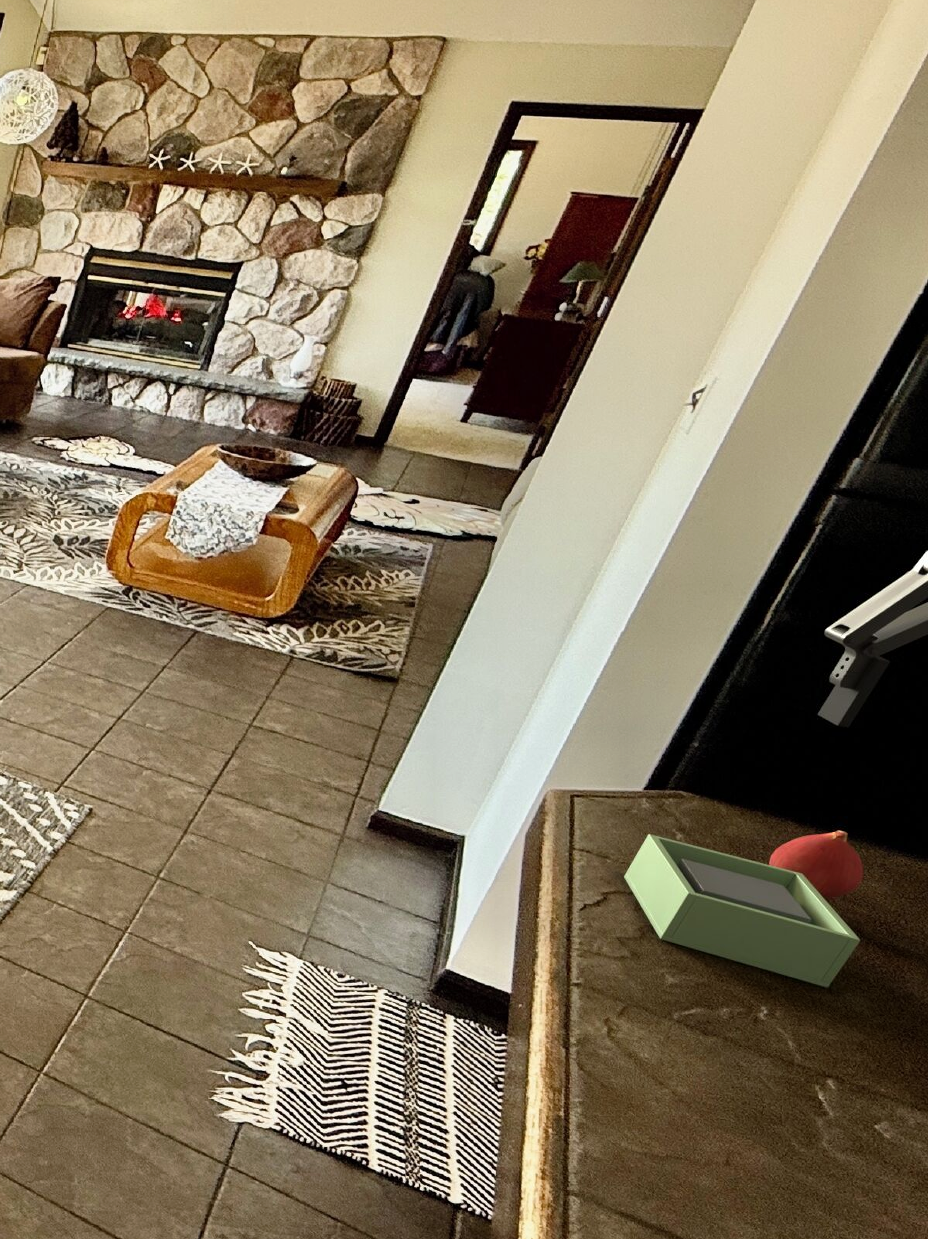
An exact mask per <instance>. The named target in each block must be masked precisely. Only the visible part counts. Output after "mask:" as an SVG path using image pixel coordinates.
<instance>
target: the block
mask: <svg viewBox="0 0 928 1239" xmlns="http://www.w3.org/2000/svg"><path fill="white" fill-rule="evenodd" d="M677 867H678V868H679V870H680V871H681V873H682V874H683V876H684V877H685V878H686V880H687V881H688V883H689V884H690V886H691V887H692V889H693V890H694V892H695V893H698V894H702V895H705V896H709V897H713V898H716V899H720V900H724V901H727V902H731V903H735V904H738V905H742V906H746V907H749V908H753V909H757V910H760V911H764V912H767V913H771V914H775V915H778V916H782V917H786V918H789V919H793V920H797V921H800V922H804V923H808V924H809V923H810V922H811V918H810V917H809V916H808V915H807V914H806V912H805V911H804V910H803V909H802V908H801V906H800V905H799V904H798V903H797V901H796V900H795V899H794V898H793V897H792V895H791V894H790V893H789V892H788V891H787V889H786V888H785V887H784V886H783V885H780V884H776V883H773V882H769V881H765V880H761V879H757V878H754V877H750V876H746V875H742V874H739V873H735V872H731V871H727V870H723V869H720V868H716V867H712V866H708V865H704V864H701V863H697V862H693V861H689V860H686V859H681V860H680V862H679V864H678V865H677Z"/></svg>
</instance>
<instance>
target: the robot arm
mask: <svg viewBox="0 0 928 1239" xmlns="http://www.w3.org/2000/svg"><path fill="white" fill-rule="evenodd" d="M927 599H928V550H926V551H925V553H924V554H923V555H922V556H921V558H920V559H919V560H918V561H917V563H916V564H915V565H914V566H913V568H912V569H911V570H910V571H907V572H906V573H905V574H904V575H902V576H900V577H899V578H897V579H896V580H895V581H893V582H892V583H891V584H889V585H887V586H886V587H885V588H883V589H881V591H879V592H877V593H876V594H874V595H873V596H872V597H870V598H869V599H867V600H866V601H864V602H862V603H861V604H860V605H858V606H857V607H856V608H854V609H853V610H851V611H850V612H848V613H847V614H846V615H844V616H843V617H841V618H839V619H838V620H837V621H835V622H834V623H833V624H831V625H830V626H828V627H827V628H826V629H825V630H824V632H823V633H824V636H825V637H827V638H828V639H831V640H832V641H834V642H837V643H839V644H841V645H842V646H843V647H844V649H845V650H844V653H843V654H842V655H841V658H840V659H839V661H838V662H837V664H836V666H835V667H834V669H833V671H832V672H831V673H830V676H829V683H831V684H833V685H835V686H834V687H833V689H832V690H831V692H830V694H829V696H828V697H827V698H826V700H825V702H824V703H823V704H822V706H821V708H820V709H819V711H818V713H817V715H818V716H819V717H821V718H823V719H825V720H826V721H828V722H830V723H832V724H834V725H836V726H838V727H841V728H842V727H843V728H849V727H851V724H852V722H853V721H854V720H855V718H856V717H857V715H858V713H859V712H860V710H861V708H862V707H863V705H864V704H865V703H866V701H867V699H868V698H869V696H870V694H871V693H872V691H873V690H874V688H875V687H876V685H877V683H878V682H879V680H880V679H881V677H882V676H883V673H885V671H886V669H887V668H888V666H889V665H890V664H891V661H890V660H888V659H885V658H884V657H882V655H884V654H887V653H889V652H891V651H893V650H896V649H899V648H901V647H902V646H905V645H906V644H909V643H911V642H914V641H917V640H918V639H920V638H922V637H925V636H928V602H926V603H924V604H921V603H922V602H924V601H925V600H927ZM919 604H921V605H919ZM918 605H919V606H918ZM916 606H917V607H916Z"/></svg>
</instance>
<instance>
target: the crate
mask: <svg viewBox="0 0 928 1239" xmlns="http://www.w3.org/2000/svg"><path fill="white" fill-rule="evenodd" d="M681 859H686V860H689V861H693V862H697V863H701V864H704V865H708V866H712V867H716V868H720V869H723V870H727V871H731V872H735V873H739V874H742V875H746V876H750V877H754V878H757V879H761V880H765V881H769V882H773V883H776V884H780V885H783V886H784V887H785V888H786V889H787V891H788V892H789V893H790V894H791V895H792V897H793V898H794V899H795V900H796V901H797V903H798V904H799V905H800V906H801V908H802V909H803V910H804V911H805V912H806V914H807V915H808V916H809V917H810V918H811V922H810V923H809V924H808V923H804V922H800V921H797V920H793V919H789V918H786V917H782V916H778V915H775V914H771V913H767V912H764V911H760V910H757V909H753V908H749V907H746V906H742V905H738V904H735V903H731V902H727V901H724V900H720V899H716V898H713V897H709V896H705V895H702V894H698V893H695V892H694V890H693V889H692V887H691V886H690V884H689V883H688V881H687V880H686V878H685V877H684V876H683V874H682V873H681V871H680V870H679V868H678V867H677V865H678V864H679V862H680V860H681ZM623 878H624V880H625V881H626V884H628V887H629V888H630V890H631V891H632V893H633V895H634V896H635V898H636V900H637V902H638V903H639V905H640V907H641V909H642V911H643V912H644V913H645V915H646V917H647V919H648V921H649V922H650V924H651V926H652V927H653V930H654V931H655V932H656V934H657V936H658V938H659V939H660V940H661V941H665V942H669V943H672V944H676V945H679V946H683V947H686V948H690V949H694V950H695V951H701V952H704V953H707V954H709V955H713V956H717V957H720V958H724V959H728V960H730V961H734V962H737V963H741V964H745V965H748V966H751V967H755V968H758V969H762V970H765V971H769V972H771V973H775V974H779V975H782V976H786V977H788V978H789V977H790V978H792V979H797V980H800V981H803V982H806V983H810V984H812V985H813V984H814V985H817V986H820V987H824V988H828V989H829V987H830V985H831V983H832V982H833V981H834V979H835V978H836V976H837V975H838V974H839V972H840V971H841V969H842V968H843V966H844V965H845V964H846V962H847V961H848V959H849V958H850V957H851V955H852V953H853V952H854V950H855V949H856V948H857V946H858V945H859V943H860V942H861V939H860V938H859V937H858V936H857V934H856V933H855V932H854V931H853V930H852V929H851V927H850V926H849V925H848V924H847V923H846V922H845V921H844V920H843V918H842V917H841V916H840V915H839V914H838V912H836V911H835V909H834V908H833V907H832V906H831V905H830V903H828V901H827V899H824V898H823V897H822V896H821V895H820V893H819V892H818V891H817V890H816V889H815V888H814V887H813V885H812V884H811V883H810V882H809V881H808V880H807V879H806V877H805V876H804V875H803V874H801V873H798V872H793V871H790V870H786V869H782V868H778V867H775V866H771V865H769V864H766V863H764V862H763V863H762V862H758V861H755V860H751V859H748V858H743V857H740V856H735V855H732V854H728V853H724V852H721V851H716V850H713V849H708V848H706V847H701V846H697V845H694V844H689V843H685V842H682V841H677V840H674V839H670V838H667V837H663V836H658V835H654V834H650V833H648V834H647V836H646V838H645V840H644V841H643V843H642V845H641V847H640V848H639V850H638V852H637V853H636V855H635V857H634V859H633V860H632V862H631V864H630V865H629V867H628V869H627V871H626V873H625V874H624V875H623Z"/></svg>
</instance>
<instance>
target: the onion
mask: <svg viewBox="0 0 928 1239" xmlns="http://www.w3.org/2000/svg"><path fill="white" fill-rule="evenodd" d="M847 839H848V833H847V832H846V831H842V830H836V831H834V832H828V833H822V834H809V835H803V836H799V837H797V838H794V839H792V840H790V841H787V842H785V843H783V844H781V845H780V846H779V847H777V848H776V849H775V850H774V851H773V852H772V854H771V855H770V858H769V862H768V865H771V866H775V867H778V868H782V869H786V870H790V871H793V872H798V873H801V874H803V875H804V876H805V877H806V879H807V880H808V881H809V882H810V883H811V884H812V885H813V887H814V888H815V889H816V890H817V891H818V892H819V893H820V895H821V896H822V897H823V898H824V899H825V900H827V899H833V898H839V897H843V896H845V895H847V894H850V893H853V892H854V891H855V890H856V889H857V888H858V887H859V886H860V885H861V882H862V881H863V879H864V867H863V860H862V859H861V857H860V855H859V853H858V852H857V851H856V850H855V849H854V848H853V847H852V846H851V845H850V844H849V843H848V841H847Z"/></svg>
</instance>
